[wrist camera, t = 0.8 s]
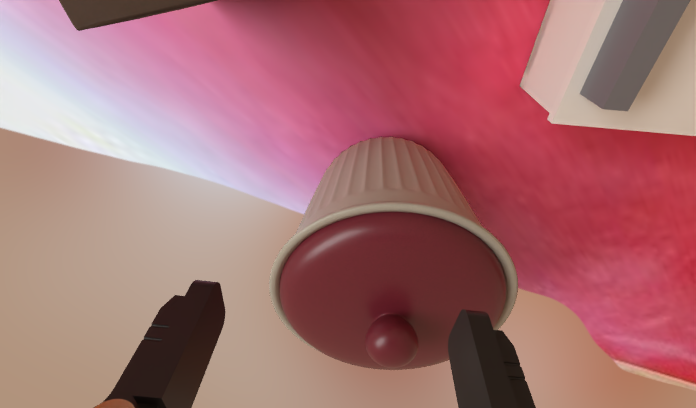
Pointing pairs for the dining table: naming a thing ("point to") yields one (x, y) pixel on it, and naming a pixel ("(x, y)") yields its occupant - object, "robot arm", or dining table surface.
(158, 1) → the coffee box
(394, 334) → the canister
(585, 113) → the lid
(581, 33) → the box
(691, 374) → the dining table surface
